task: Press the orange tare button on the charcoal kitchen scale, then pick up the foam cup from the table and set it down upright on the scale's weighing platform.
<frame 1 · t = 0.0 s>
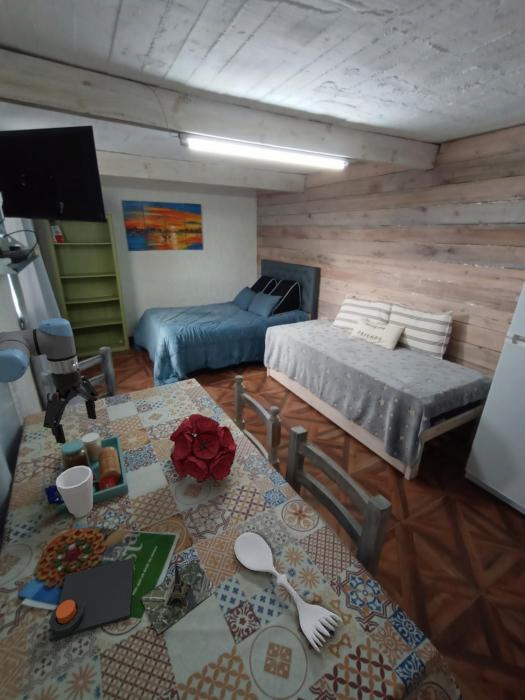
hand: (77, 429, 102), 22 cm above the table, tool pointing down, fingers open, 13 cm apart
bouquet: (200, 471, 116), on the table
eiffel tower figurine: (179, 595, 77), on the table
scale: (97, 596, 76), on the table
foam cup: (81, 509, 99), on the table
spoon: (279, 586, 80), on the table
tare button: (66, 611, 70), point 4 cm above the table, slide at 0.1 cm
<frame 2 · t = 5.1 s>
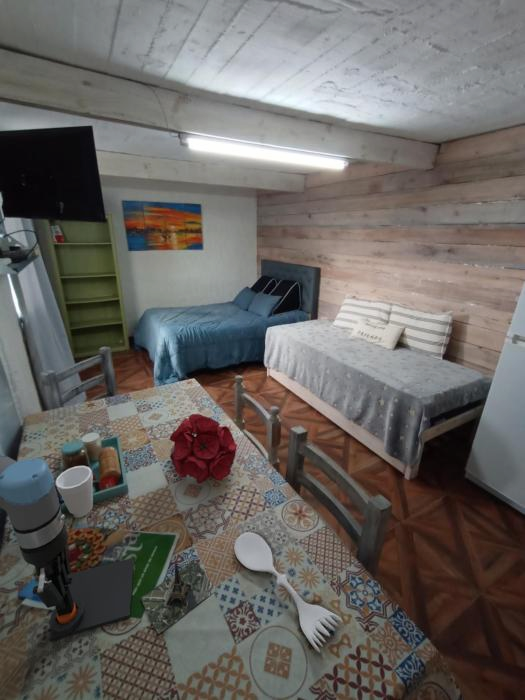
hand: (66, 610, 70), 4 cm above the table, tool pointing down, fingers closed
tare button: (67, 614, 70), point 3 cm above the table, slide at -0.7 cm, touching gripper
everything else where it was.
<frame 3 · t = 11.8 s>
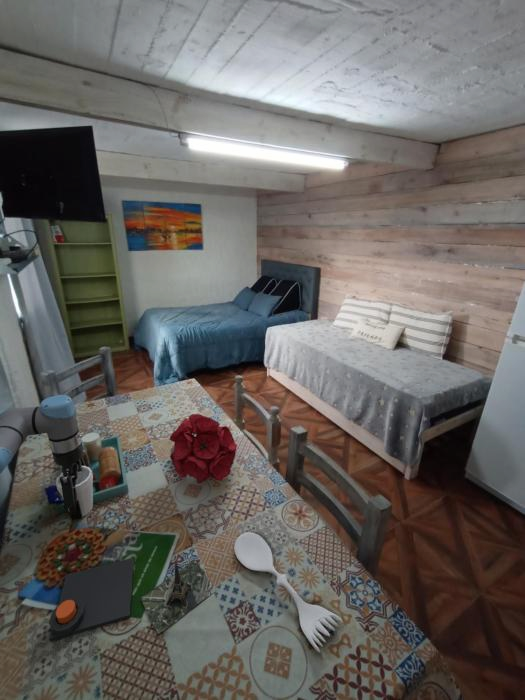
hand: (80, 505, 99), 2 cm above the table, tool pointing down, fingers closed on foam cup, 9 cm apart
foam cup: (81, 509, 99), on the table, touching gripper
tare button: (66, 611, 70), point 4 cm above the table, slide at 0.1 cm
everything else where it was.
when the fingers open (3 cm above the table, at t = 19.7 s): foam cup stays where it is, resting on scale.
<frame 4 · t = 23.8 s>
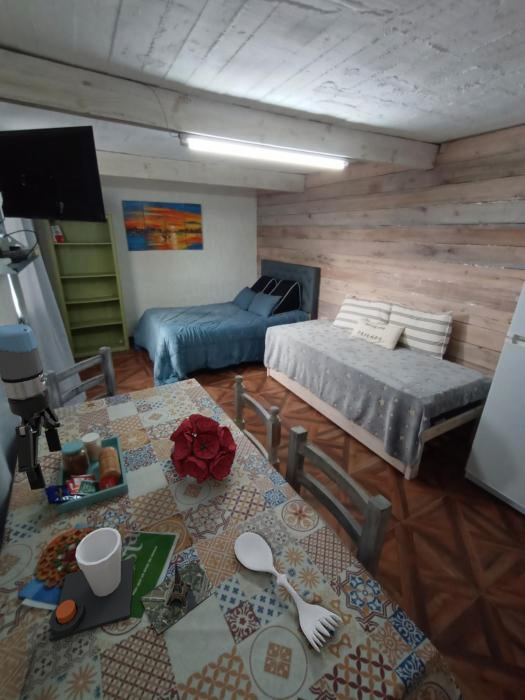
hand: (47, 468, 79), 27 cm above the table, tool pointing down, fingers open, 13 cm apart
foam cup: (106, 583, 78), point 1 cm above the table, touching scale
everything else where it was.
at the end: tare button pushed in 1.0 cm at the most during the clip, back to where it started at the end; foam cup inside the target area on the scale (1.5 cm from its centre), point 1.0 cm above the scale's base; foam cup touching scale; foam cup tilted 0° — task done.
